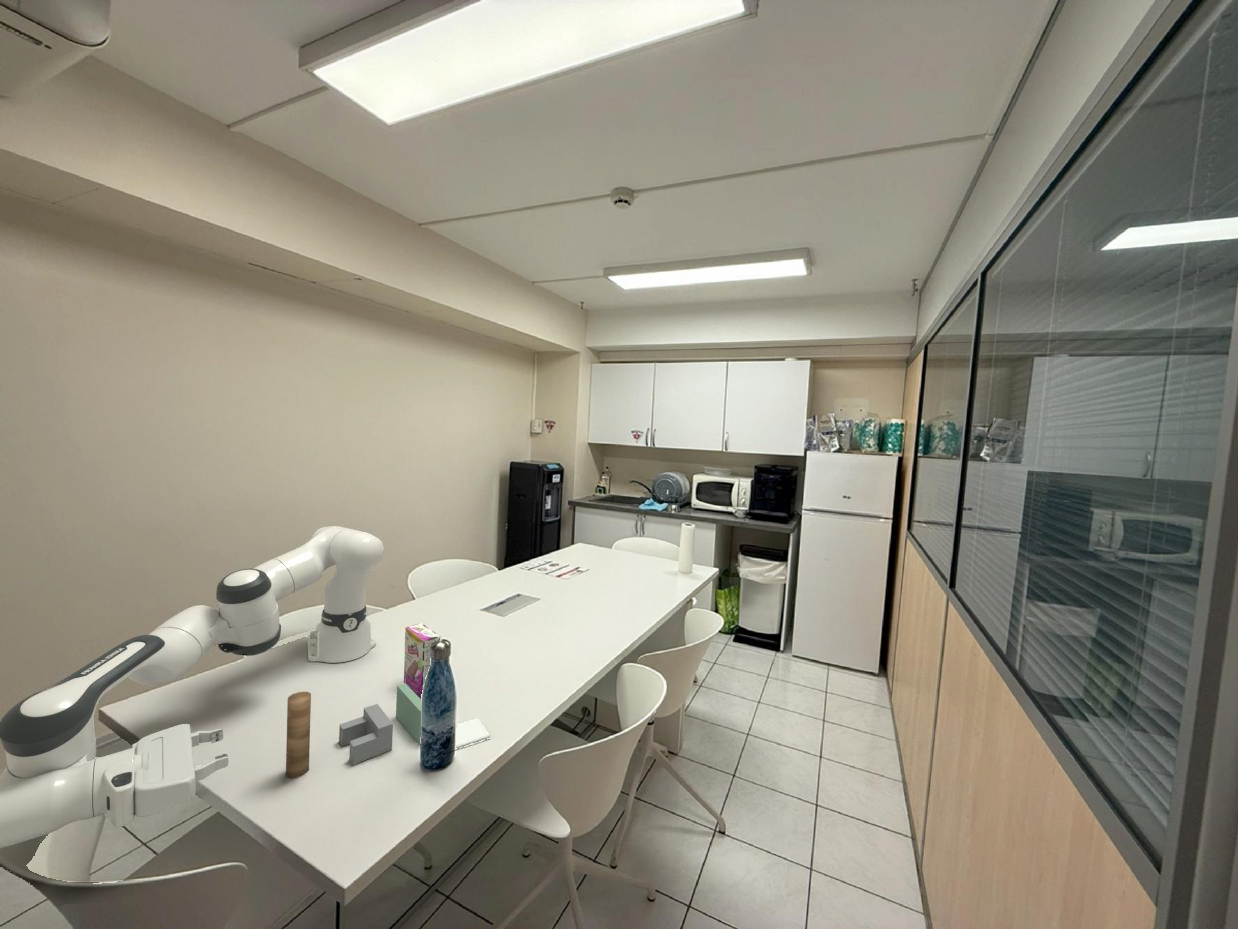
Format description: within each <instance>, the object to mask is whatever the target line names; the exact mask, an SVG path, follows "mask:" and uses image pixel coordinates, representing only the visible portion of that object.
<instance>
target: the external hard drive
mask: <svg viewBox="0 0 1238 929" xmlns="http://www.w3.org/2000/svg"><path fill="white" fill-rule="evenodd" d="M487 738H491V735H490V733H489V732H488V730H487V729H486V727H485V726H484V724H483V722H482V721H481V719H479V717H476V718H473V719H470V720H466V721H464V722H460V723H457V728H456V748H457V749H459V748H460V747H464V746H466V745H469V744H471V743H475V742H479V741H481V740H484V739H487ZM459 750H460V749H459Z"/></svg>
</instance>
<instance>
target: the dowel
mask: <svg viewBox="0 0 1238 929" xmlns="http://www.w3.org/2000/svg"><path fill="white" fill-rule="evenodd" d="M311 701H312V693H311V692H309V691H298V692H295V693H294V692H293V694H291V695H289V696H288V698H287V707H286V708H287V709H286V711H287V713H286V714H287V715H286V722H287V723H286V745H285V746H286V753H285V754H286V755H285V757H286V758H285V776H286V778H288V779H296V778H300V777H302V776H305V774H307V773H308V772H309V770H310V747H311V746H310V743H311V742H310V740H311V709H312V708H311V706H312V705H311V703H312V702H311Z"/></svg>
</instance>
